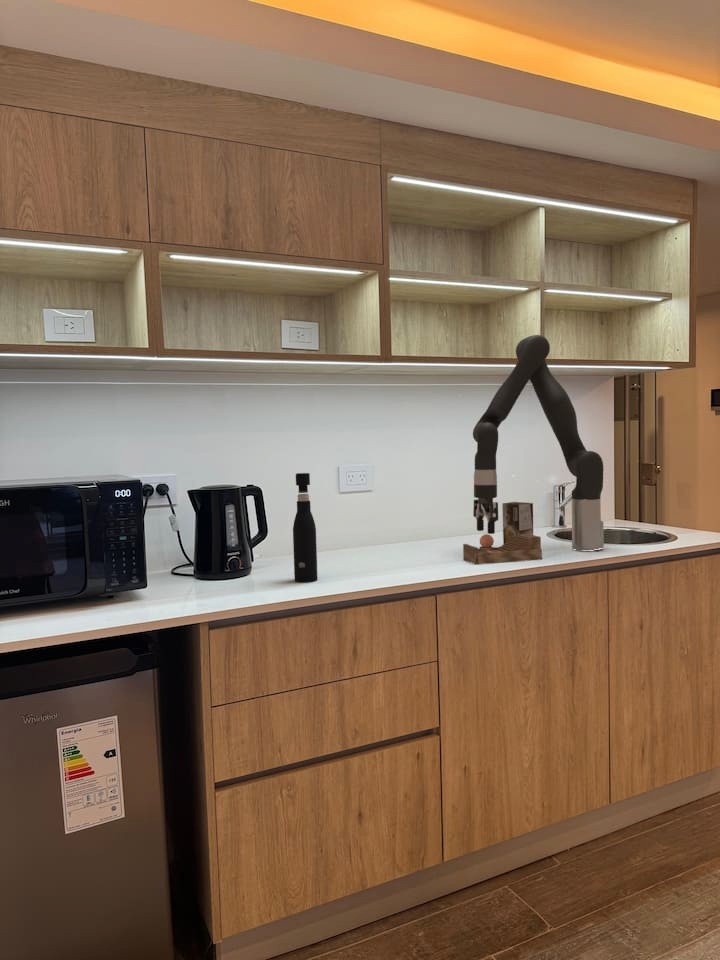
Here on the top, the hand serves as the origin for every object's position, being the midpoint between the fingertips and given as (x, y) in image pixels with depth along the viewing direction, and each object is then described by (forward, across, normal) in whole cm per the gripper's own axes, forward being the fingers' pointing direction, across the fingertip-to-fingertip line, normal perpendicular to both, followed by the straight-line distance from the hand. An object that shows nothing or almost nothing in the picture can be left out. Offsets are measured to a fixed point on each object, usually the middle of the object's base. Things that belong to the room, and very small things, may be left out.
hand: (485, 532), depth 224 cm
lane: (+7, -11, 0) cm, 13 cm away
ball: (+5, 0, 0) cm, 5 cm away
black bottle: (+9, -20, +64) cm, 67 cm away
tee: (+7, 0, 0) cm, 7 cm away
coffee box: (+7, +5, -14) cm, 17 cm away
